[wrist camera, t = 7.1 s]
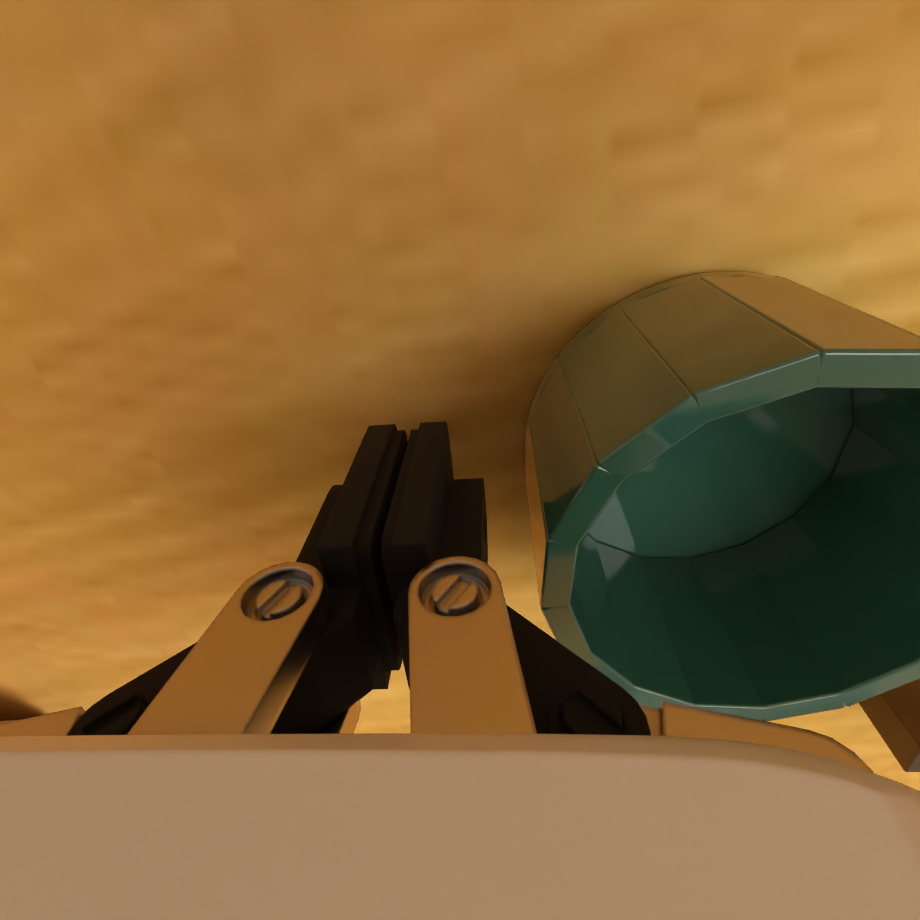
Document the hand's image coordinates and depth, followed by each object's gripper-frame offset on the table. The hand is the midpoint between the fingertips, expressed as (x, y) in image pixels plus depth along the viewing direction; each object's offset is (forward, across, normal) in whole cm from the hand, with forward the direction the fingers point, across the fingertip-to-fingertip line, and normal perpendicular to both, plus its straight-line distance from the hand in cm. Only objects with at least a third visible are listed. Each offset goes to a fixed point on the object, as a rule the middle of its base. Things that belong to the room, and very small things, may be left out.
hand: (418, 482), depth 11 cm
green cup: (+1, -6, 0) cm, 6 cm away
